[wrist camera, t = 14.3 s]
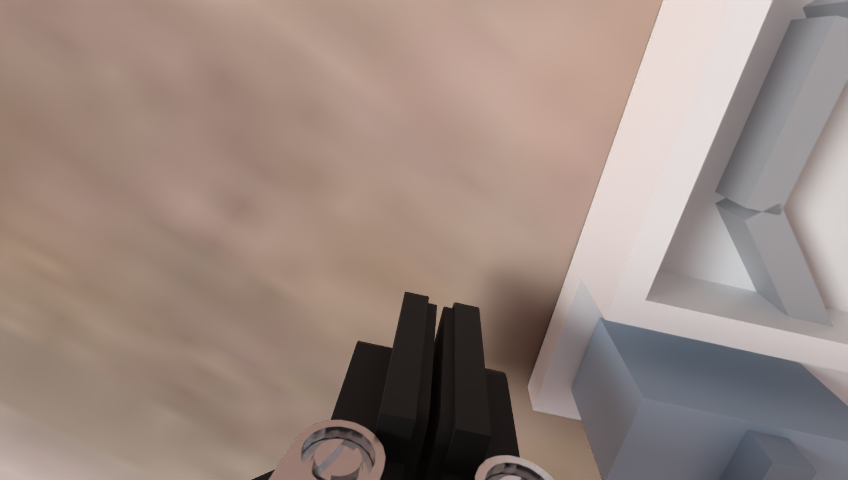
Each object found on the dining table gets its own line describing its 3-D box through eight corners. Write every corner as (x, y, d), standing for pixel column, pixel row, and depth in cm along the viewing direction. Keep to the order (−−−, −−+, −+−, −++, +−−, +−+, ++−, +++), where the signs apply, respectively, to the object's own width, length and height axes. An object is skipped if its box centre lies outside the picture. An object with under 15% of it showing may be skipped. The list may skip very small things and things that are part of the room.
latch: (599, 317, 12) (660, 428, 8) (796, 360, 12) (939, 488, 9) (571, 390, 13) (615, 519, 9) (756, 430, 13) (871, 573, 9)
